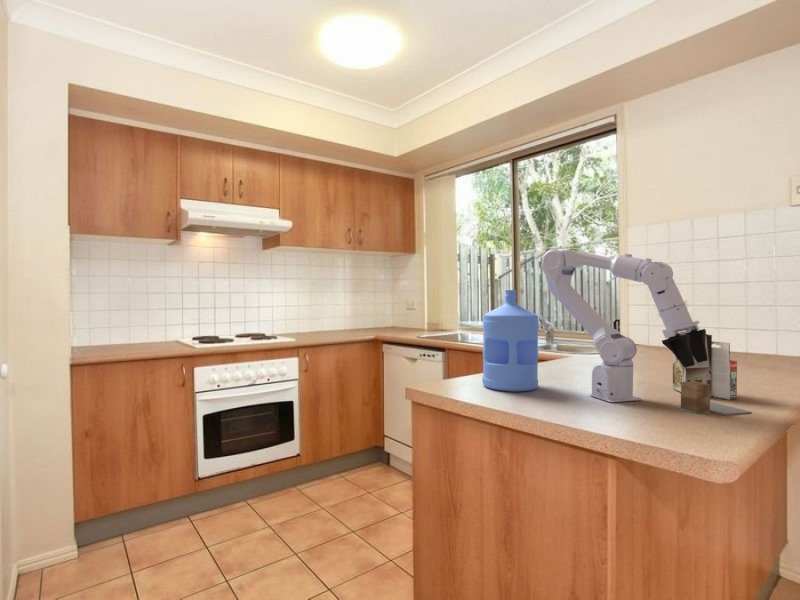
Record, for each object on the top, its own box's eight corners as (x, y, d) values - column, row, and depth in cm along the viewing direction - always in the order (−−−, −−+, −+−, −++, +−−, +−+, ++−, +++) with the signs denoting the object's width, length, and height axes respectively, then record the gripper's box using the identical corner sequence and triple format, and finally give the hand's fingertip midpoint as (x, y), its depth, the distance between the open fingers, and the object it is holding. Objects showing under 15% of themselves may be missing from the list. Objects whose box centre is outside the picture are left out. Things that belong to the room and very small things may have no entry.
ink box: (705, 392, 123) (706, 339, 123) (737, 398, 116) (738, 342, 116) (697, 394, 122) (697, 340, 122) (729, 400, 115) (730, 343, 114)
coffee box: (712, 396, 118) (713, 334, 118) (685, 395, 119) (685, 334, 119) (696, 389, 127) (697, 331, 127) (671, 388, 128) (672, 331, 128)
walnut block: (695, 413, 102) (696, 385, 102) (680, 409, 106) (681, 381, 106) (709, 412, 103) (710, 384, 103) (694, 408, 107) (694, 380, 107)
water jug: (480, 380, 139) (481, 290, 139) (532, 382, 138) (533, 290, 137) (484, 391, 124) (485, 289, 124) (542, 393, 122) (544, 289, 122)
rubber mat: (724, 415, 100) (724, 414, 100) (684, 404, 110) (684, 403, 110) (751, 413, 103) (751, 411, 103) (710, 402, 112) (710, 401, 112)
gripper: (675, 304, 100) (702, 364, 97) (701, 301, 109) (726, 355, 105) (645, 315, 105) (669, 371, 102) (672, 310, 114) (695, 362, 111)
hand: (696, 363), depth 104 cm, fingers open, 7 cm apart
